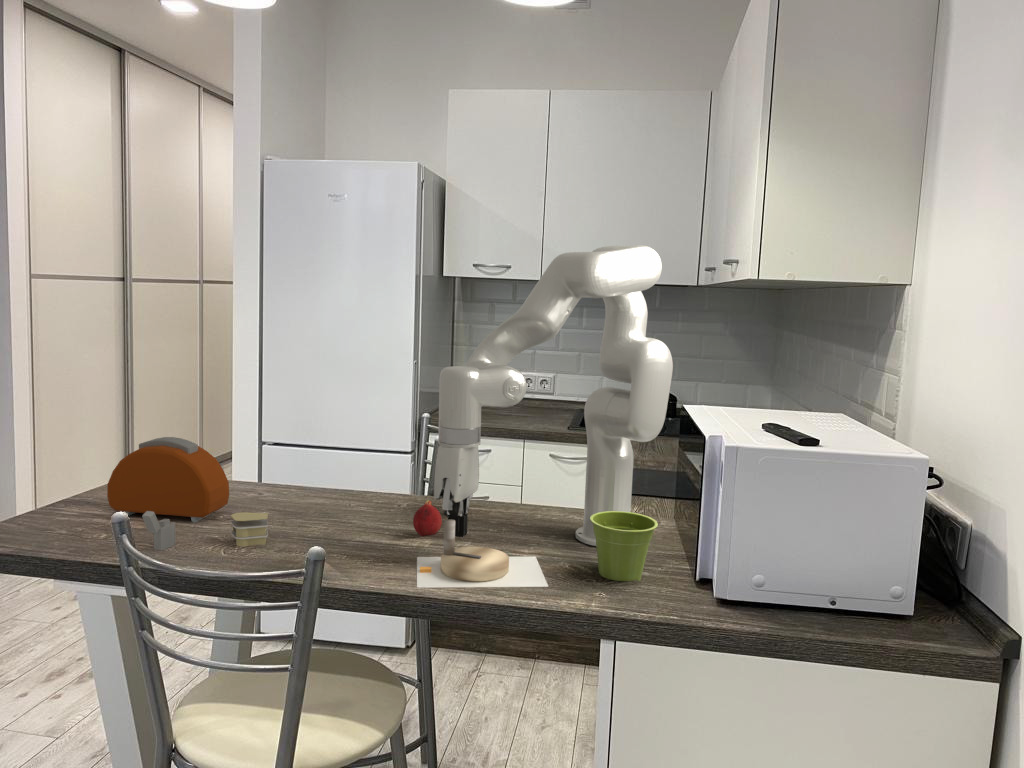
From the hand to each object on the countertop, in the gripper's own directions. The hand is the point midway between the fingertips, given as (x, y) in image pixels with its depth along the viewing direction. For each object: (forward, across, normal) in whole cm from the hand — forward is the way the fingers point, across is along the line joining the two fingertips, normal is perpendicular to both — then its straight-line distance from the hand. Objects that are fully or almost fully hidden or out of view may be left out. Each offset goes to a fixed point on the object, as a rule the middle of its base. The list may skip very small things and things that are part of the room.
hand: (457, 535), depth 145 cm
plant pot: (+7, -7, +29) cm, 30 cm away
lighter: (+6, +16, -54) cm, 57 cm away
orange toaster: (+6, -2, -69) cm, 69 cm away
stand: (+6, +3, +6) cm, 9 cm away
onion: (+6, -13, -12) cm, 19 cm away
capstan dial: (+4, +3, +5) cm, 7 cm away
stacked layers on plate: (+7, +5, -42) cm, 43 cm away
